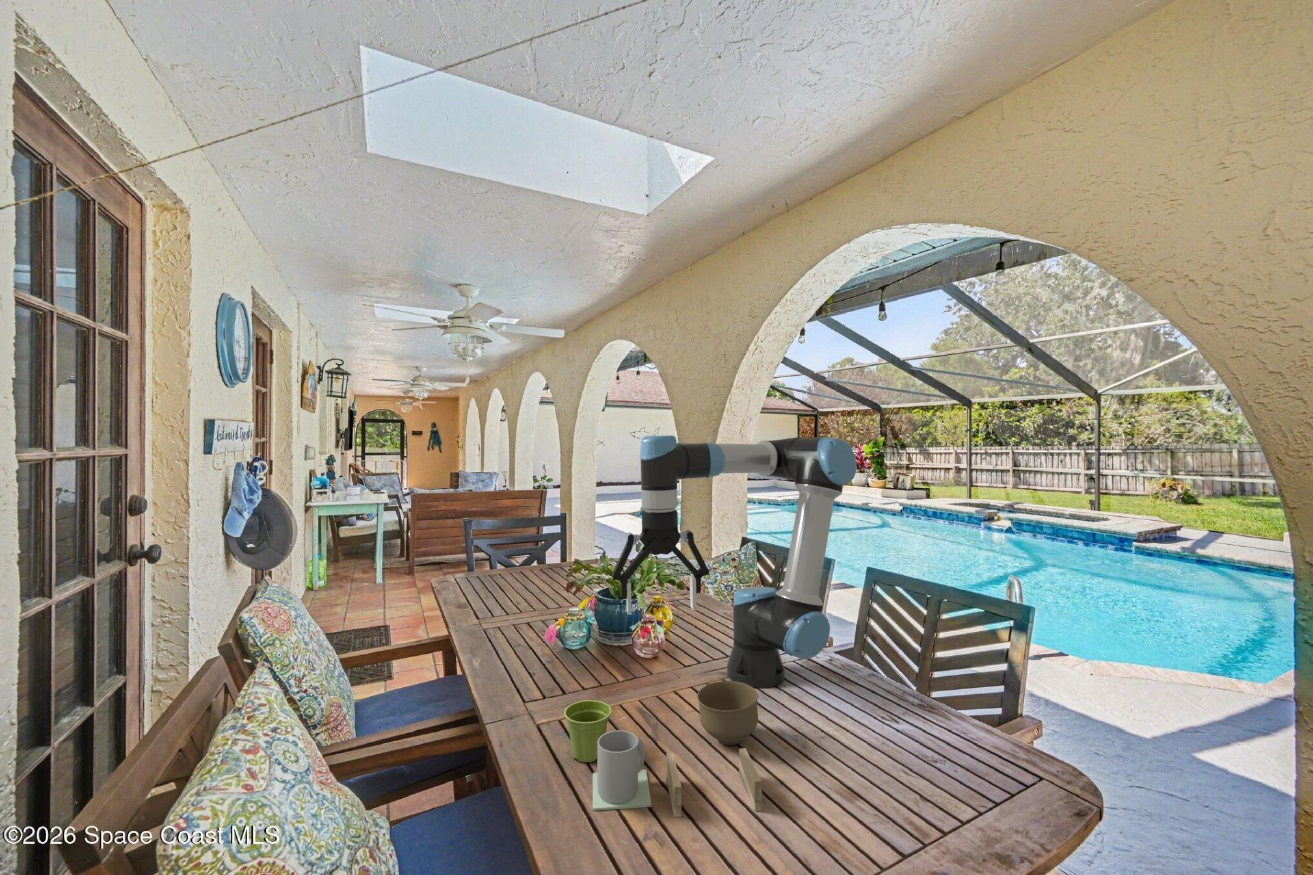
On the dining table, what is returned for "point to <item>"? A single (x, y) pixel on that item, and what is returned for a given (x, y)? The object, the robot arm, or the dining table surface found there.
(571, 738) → the plant pot
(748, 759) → the holder rails
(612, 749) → the cup
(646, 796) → the mat
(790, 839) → the dining table surface
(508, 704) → the dining table surface
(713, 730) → the bowl
